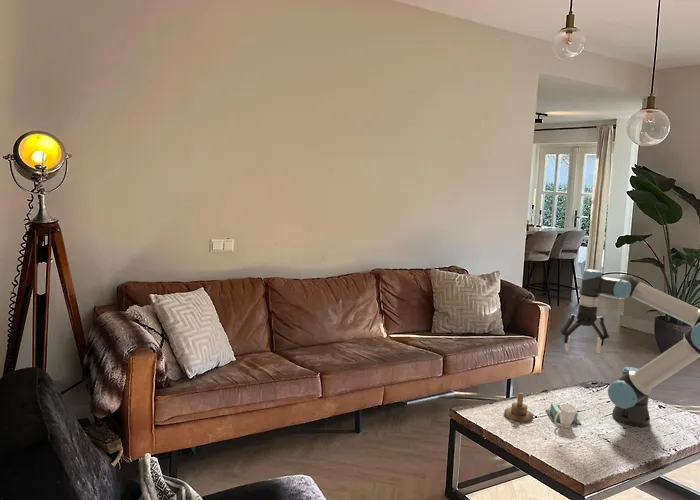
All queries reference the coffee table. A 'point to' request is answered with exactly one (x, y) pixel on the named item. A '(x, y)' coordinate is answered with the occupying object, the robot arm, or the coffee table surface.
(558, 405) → the link
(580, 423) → the mat
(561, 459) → the coffee table surface
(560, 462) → the coffee table surface
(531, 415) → the stand
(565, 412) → the cup
